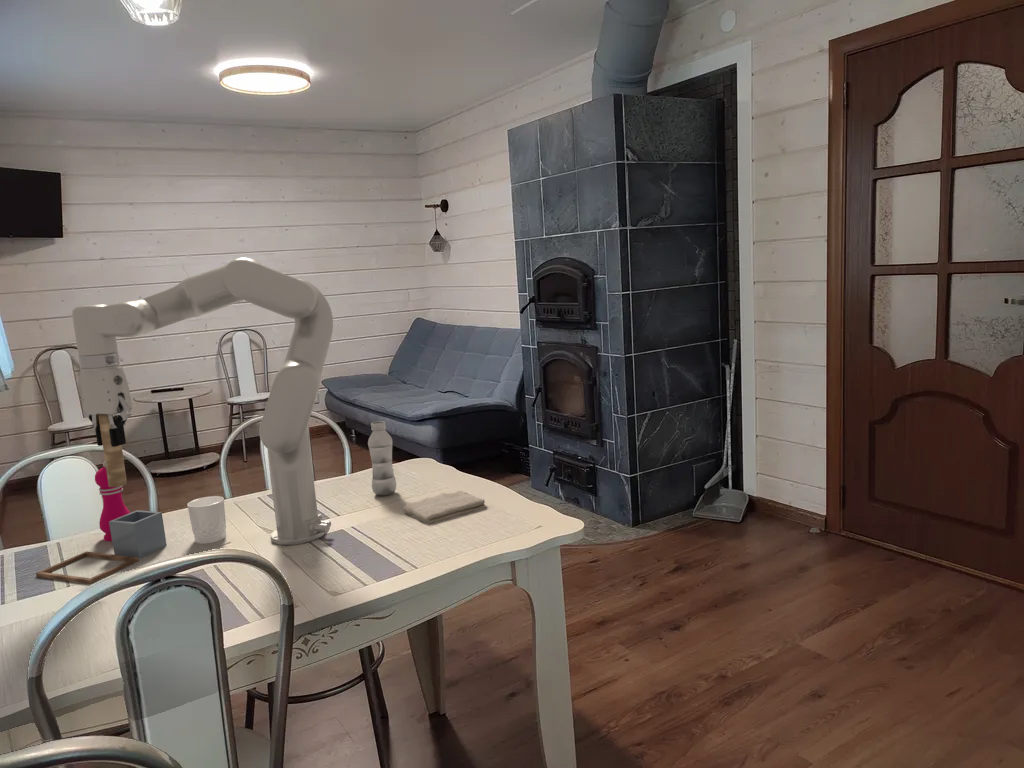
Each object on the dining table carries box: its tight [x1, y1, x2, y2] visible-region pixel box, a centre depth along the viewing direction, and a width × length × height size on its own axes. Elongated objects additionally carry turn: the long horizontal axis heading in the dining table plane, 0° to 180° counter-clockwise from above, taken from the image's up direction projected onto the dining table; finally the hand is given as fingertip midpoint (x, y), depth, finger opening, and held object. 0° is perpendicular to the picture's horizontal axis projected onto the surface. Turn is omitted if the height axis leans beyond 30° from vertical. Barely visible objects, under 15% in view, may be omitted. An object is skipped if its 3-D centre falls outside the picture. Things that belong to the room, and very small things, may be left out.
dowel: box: [98, 414, 128, 487], centre depth 162 cm, size 4×4×16 cm
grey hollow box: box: [109, 509, 168, 559], centre depth 168 cm, size 8×8×9 cm
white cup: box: [186, 495, 227, 545], centre depth 173 cm, size 8×8×10 cm
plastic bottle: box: [367, 420, 397, 496], centre depth 200 cm, size 6×7×20 cm
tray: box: [35, 551, 140, 585], centre depth 159 cm, size 16×12×2 cm
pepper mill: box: [94, 460, 131, 542], centre depth 177 cm, size 7×7×20 cm
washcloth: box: [402, 490, 486, 524], centre depth 184 cm, size 12×18×3 cm, turn 127°
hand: (111, 443), depth 162 cm, fingers closed on dowel, 3 cm apart
